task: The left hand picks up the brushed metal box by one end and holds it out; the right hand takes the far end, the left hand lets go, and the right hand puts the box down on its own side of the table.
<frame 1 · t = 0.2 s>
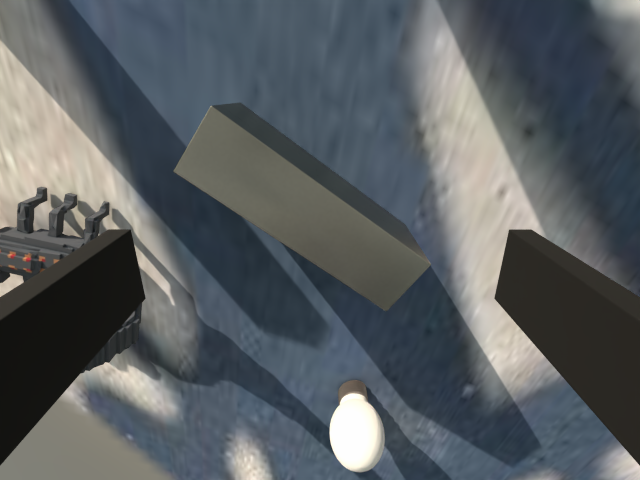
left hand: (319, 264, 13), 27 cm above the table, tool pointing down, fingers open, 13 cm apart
light bulb: (352, 389, 50), on the table
box: (311, 189, 39), on the table
toy: (64, 240, 41), on the table
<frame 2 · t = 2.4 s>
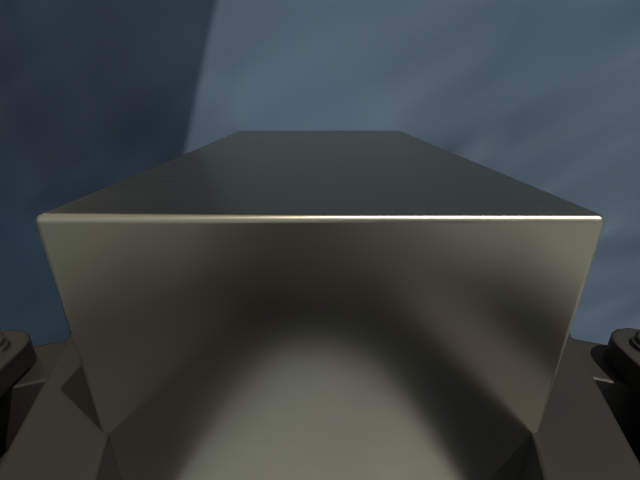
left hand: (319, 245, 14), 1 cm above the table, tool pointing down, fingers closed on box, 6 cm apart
box: (320, 366, 17), on the table, touching left hand
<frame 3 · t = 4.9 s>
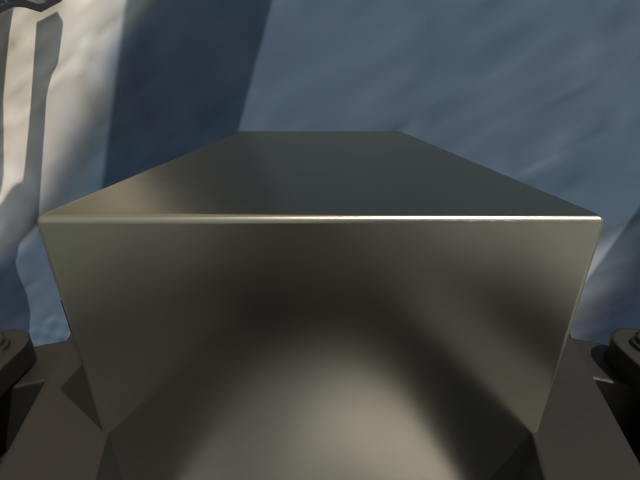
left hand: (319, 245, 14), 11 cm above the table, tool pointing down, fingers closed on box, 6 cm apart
box: (320, 366, 17), point 10 cm above the table, touching left hand
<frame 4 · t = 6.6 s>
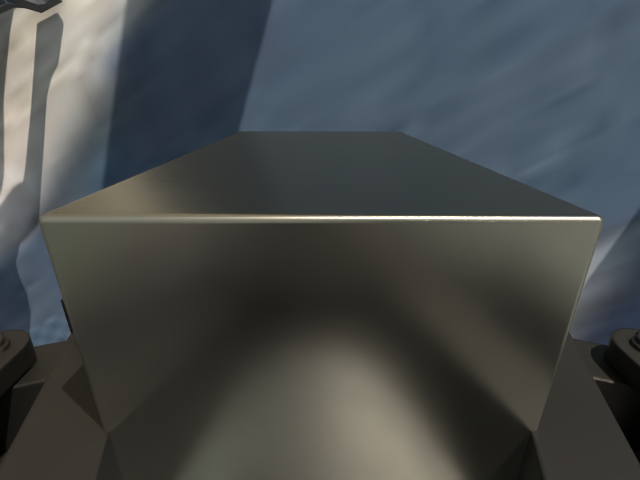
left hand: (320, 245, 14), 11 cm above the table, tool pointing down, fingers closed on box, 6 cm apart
box: (319, 366, 17), point 10 cm above the table, touching left hand, right hand
when the left hand's fingers open (11 cm above the table, at t = 7.7 s): box stays where it is, held by the right hand.
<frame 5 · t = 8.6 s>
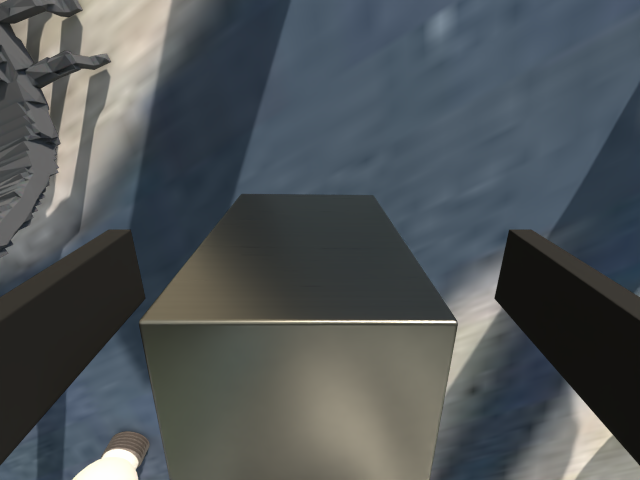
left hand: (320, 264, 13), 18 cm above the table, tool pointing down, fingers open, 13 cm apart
light bulb: (131, 441, 40), on the table
box: (307, 384, 20), point 14 cm above the table, touching right hand
when the right hand's fingers open (7 cm above the table, at t = 17.5 s): box stays where it is, on the table.
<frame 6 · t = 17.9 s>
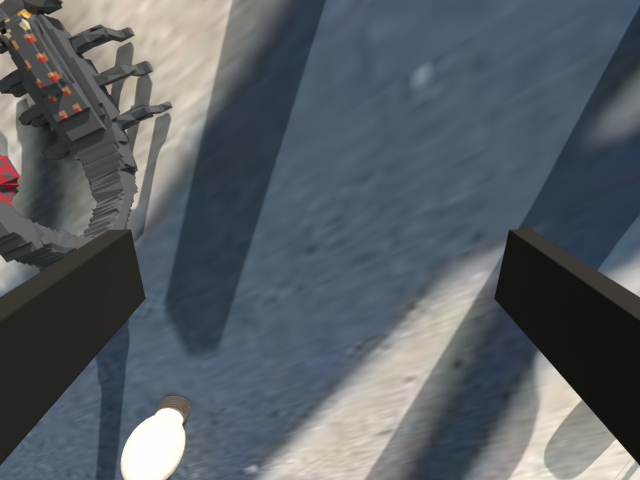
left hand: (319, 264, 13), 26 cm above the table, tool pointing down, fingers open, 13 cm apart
light bulb: (175, 404, 49), on the table
toy: (90, 81, 34), on the table
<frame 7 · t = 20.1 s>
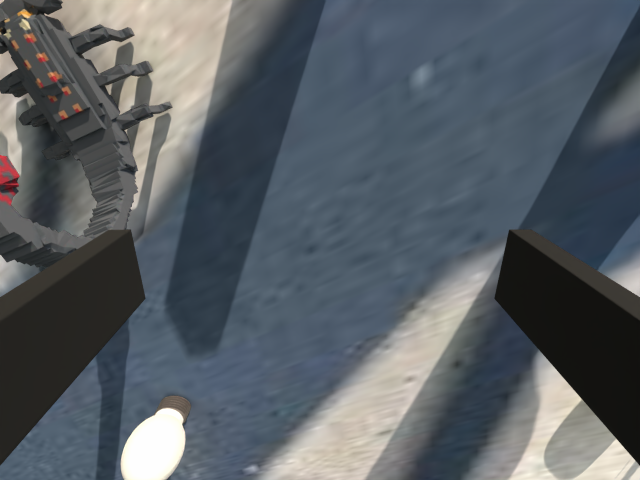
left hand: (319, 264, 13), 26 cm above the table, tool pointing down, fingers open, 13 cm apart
light bulb: (175, 404, 49), on the table
toy: (90, 81, 34), on the table
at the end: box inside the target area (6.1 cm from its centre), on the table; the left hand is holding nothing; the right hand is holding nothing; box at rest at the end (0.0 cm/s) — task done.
